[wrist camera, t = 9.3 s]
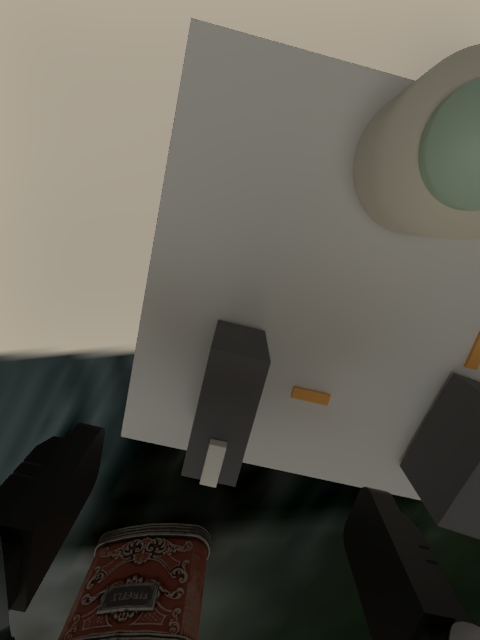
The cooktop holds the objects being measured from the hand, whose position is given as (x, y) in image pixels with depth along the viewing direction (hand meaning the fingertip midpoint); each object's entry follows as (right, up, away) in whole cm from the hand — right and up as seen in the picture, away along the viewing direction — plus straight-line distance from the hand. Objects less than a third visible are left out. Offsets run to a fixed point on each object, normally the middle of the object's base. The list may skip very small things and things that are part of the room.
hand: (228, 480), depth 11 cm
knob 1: (+11, -1, +8) cm, 14 cm away
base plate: (+7, +6, +9) cm, 13 cm away
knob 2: (0, +2, +8) cm, 8 cm away
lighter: (-6, -11, +14) cm, 19 cm away
